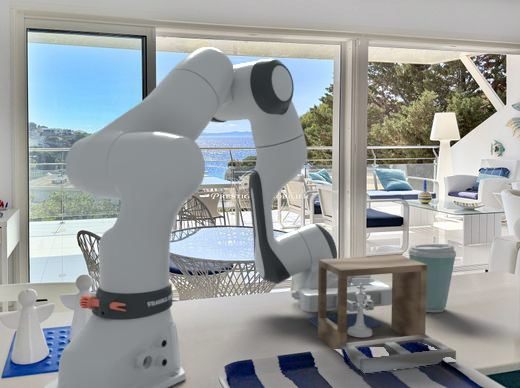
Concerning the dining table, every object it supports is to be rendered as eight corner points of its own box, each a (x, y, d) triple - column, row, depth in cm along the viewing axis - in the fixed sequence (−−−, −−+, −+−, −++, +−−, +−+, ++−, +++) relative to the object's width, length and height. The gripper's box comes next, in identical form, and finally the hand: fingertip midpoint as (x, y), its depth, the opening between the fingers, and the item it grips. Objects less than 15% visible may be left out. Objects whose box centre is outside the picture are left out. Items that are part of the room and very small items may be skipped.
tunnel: (317, 336, 106) (318, 259, 105) (396, 328, 111) (398, 254, 110) (364, 374, 88) (365, 281, 86) (455, 362, 93) (458, 274, 91)
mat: (307, 319, 117) (307, 317, 117) (361, 313, 121) (361, 312, 121) (324, 332, 108) (324, 330, 108) (381, 326, 112) (381, 324, 112)
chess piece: (355, 327, 111) (356, 279, 110) (376, 333, 107) (378, 283, 107) (342, 333, 107) (343, 283, 106) (364, 339, 104) (366, 288, 103)
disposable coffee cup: (401, 311, 122) (403, 246, 121) (411, 300, 132) (413, 239, 131) (451, 318, 117) (453, 249, 116) (457, 306, 127) (459, 242, 126)
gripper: (288, 278, 116) (313, 294, 103) (374, 272, 122) (408, 287, 109) (288, 307, 116) (313, 327, 103) (373, 300, 122) (407, 318, 109)
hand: (362, 306), depth 106 cm, fingers closed on chess piece, 2 cm apart
